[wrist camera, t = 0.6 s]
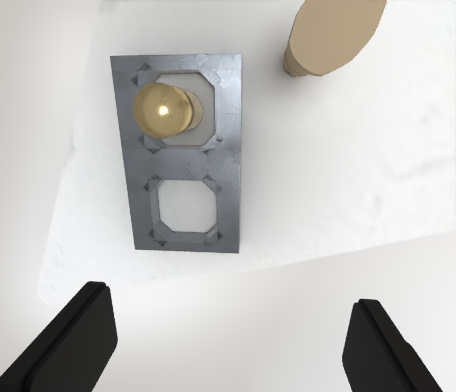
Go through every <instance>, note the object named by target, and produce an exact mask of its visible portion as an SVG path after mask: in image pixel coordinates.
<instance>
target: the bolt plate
mask: <svg viewBox="0 0 456 392" xmlns="http://www.w3.org/2000/svg"><path fill="white" fill-rule="evenodd" d="M110 60H111V68H112V76H113V83H114V91H115V99H116V106H117V114H118V122H119V129H120V137H121V145H122V152H123V160H124V168H125V175H126V183H127V191H128V199H129V206H130V214H131V222H132V229H133V237H134V245H135V249H136V250H162V251H189V252H215V253H239V244H240V175H241V100H242V55H241V54H193V55H138V56H110ZM161 73H202V74H203V76H204V77H205V78H206V79H207V80H208V81H209V82H210V83H211V84H212V85H213V86H214V87H215V126H216V134H215V135H214V136H213V137H212V138H211V139H210V140H209V141H208V142H207V143H206V144H205V145H204V146H167V145H166V144H165V143H164V142H163V141H162V140H161V139H159V138H154V137H151V136H149V135H147V134H145V133H144V132H143V131H142V130H141V129H140V128H139V126H138V125H137V123H136V121H135V119H134V116H133V101H134V98H135V96H136V94H137V92H138V91H139V90H140V89H141V88H142V87H143V86H145V85H147V84H150V83H154V82H155V81H156V80H157V78H158V77H159V76H160V75H161ZM163 180H202V181H203V182H204V183H205V184H206V185H207V186H208V187H209V188H210V189H211V190H212V191H213V192H214V193H215V194H216V195H217V224H216V225H215V226H214V227H213V228H212V229H211V230H210V231H209V232H208V233H191V232H173V231H172V230H171V229H170V228H169V227H168V226H166V225H165V224H164V223H163V222H162V221H161V220H160V213H159V202H158V191H157V187H158V186H159V185H160V184H161V182H162V181H163Z"/></svg>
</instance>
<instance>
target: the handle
mask: <svg viewBox="0 0 456 392" xmlns="http://www.w3.org/2000/svg"><path fill="white" fill-rule="evenodd" d="M386 3H387V1H386V0H306V1H305V2H304V3H303V5H302V6H301V8H300V10H299V11H298V13H297V15H296V18H295V20H294V23H293V27H292V30H291V33H290V37H289V41H288V45H287V48H286V51H285V54H284V66H283V67H284V70H286V71H288V72H289V73H290V74H291V76H292V77H296V76H305V75H308V74H309V75H313V76H323V75H325V74H327V73H330V72H332V71H334V70H336V69H338V68H340V67H342V66H344V65H345V64H347V63H348V62H350V61H351V60H352V59H353V58H354V57H355V56H356V55H357V54H358V53H359V52H360V51H361V50H362V48H363V47H364V46H365V45H366V44H367V43H368V42H369V40H370V39H371V37H372V36H373V35H374V33H375V31H376V29H377V27H378V24H379V22H380V19H381V17H382V14H383V11H384V8H385V5H386Z"/></svg>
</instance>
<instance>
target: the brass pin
mask: <svg viewBox="0 0 456 392" xmlns="http://www.w3.org/2000/svg"><path fill="white" fill-rule="evenodd" d="M202 115H203V108H202V104H201V102H200V100H199V99H198V97H197V96H196V95H194V94H193V93H191V92H189V91H186V90H183V89H179V88H176V87H173V86H170V85H166V84H163V83H150V84H147V85H145V86H143V87H142V88H141V89H140V90H139V91H138V92H137V94H136V96H135V98H134V101H133V116H134V119H135V121H136V123H137V125H138V126H139V128H140V129H141V130H142V131H143V132H144V133H145V134H147V135H149V136H151V137H154V138H159V139H163V138H168V137H171V136H174V135H177V134H180V133H183V132H185V131H188V130H191V129H193V128H195V127H196V126H197V125H198V124H199V123H200V121H201V119H202Z"/></svg>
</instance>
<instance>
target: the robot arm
mask: <svg viewBox="0 0 456 392" xmlns="http://www.w3.org/2000/svg"><path fill="white" fill-rule="evenodd" d="M117 341H118V337H117V331H116V325H115V318H114V312H113V306H112V299H111V293H110V288H109V287H108V286H106V284H105V283H104V282H94V281H89V282H87V283H86V284H85V285H84V286H83V287H82V288H81V289H80V291H79V292H78V293H77V294H76V295H75V296H74V297H73V298H72V299H71V300H70V301H69V302H68V304H67V305H66V306H65V307H64V308H63V309H62V310H61V311H60V313H58V314H57V316H56V317H55V318H54V319H53V320H52V321H51V322H50V323H49V324H48V325H47V326H46V328H45V329H44V330H43V331H42V332H41V333H40V334H39V335H38V336H37V337H36V339H35V340H34V341H33V342H32V343H31V344H30V345H29V346H28V347H27V348H26V349H25V350H24V352H23V353H22V354H21V355H20V356H19V357H18V358H17V359H16V360H15V361H14V362H13V364H12V365H11V366H10V367H9V368H8V369H7V370H6V371H5V372H4V373H3V374H2V375H1V377H0V392H92V390H93V388H94V386H95V385H96V383H97V381H98V379H99V377H100V376H101V374H102V372H103V370H104V368H105V367H106V365H107V363H108V361H109V359H110V357H111V356H112V354H113V352H114V350H115V348H116V345H117ZM342 361H343V367H344V370H345V373H346V375H347V378H348V381H349V383H350V386H351V389H352V392H443V391H442V390H441V388H440V387H439V385H438V384H437V382H436V381H435V379H434V378H433V376H432V375H431V374H430V372H429V371H428V369H427V368H426V366H425V365H424V363H423V362H422V360H421V359H420V357H419V356H418V354H417V353H416V352H415V350H414V349H413V347H412V346H411V345H410V344H409V343H407V342H406V341H405V340H404V338H403V337H402V335H401V334H400V332H399V331H398V329H397V328H396V326H395V325H394V323H393V322H392V320H391V319H390V317H389V316H388V314H387V313H386V311H385V310H384V308H383V307H382V305H381V304H380V302H379V301H378V300H373V299H372V300H371V299H360V300H359V301H358V303H354V305H353V309H352V313H351V318H350V323H349V327H348V332H347V337H346V341H345V346H344V350H343V355H342Z"/></svg>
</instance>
